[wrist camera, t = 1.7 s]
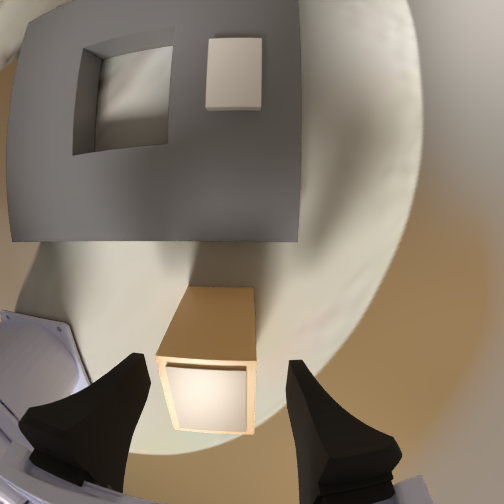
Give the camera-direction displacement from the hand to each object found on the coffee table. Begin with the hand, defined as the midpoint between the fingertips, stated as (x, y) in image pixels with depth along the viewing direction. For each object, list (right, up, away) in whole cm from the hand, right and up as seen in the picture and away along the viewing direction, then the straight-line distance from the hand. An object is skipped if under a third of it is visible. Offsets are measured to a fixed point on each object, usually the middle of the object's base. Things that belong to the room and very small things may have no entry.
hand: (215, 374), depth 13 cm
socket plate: (-5, +15, +1) cm, 16 cm away
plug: (0, +1, +5) cm, 5 cm away
